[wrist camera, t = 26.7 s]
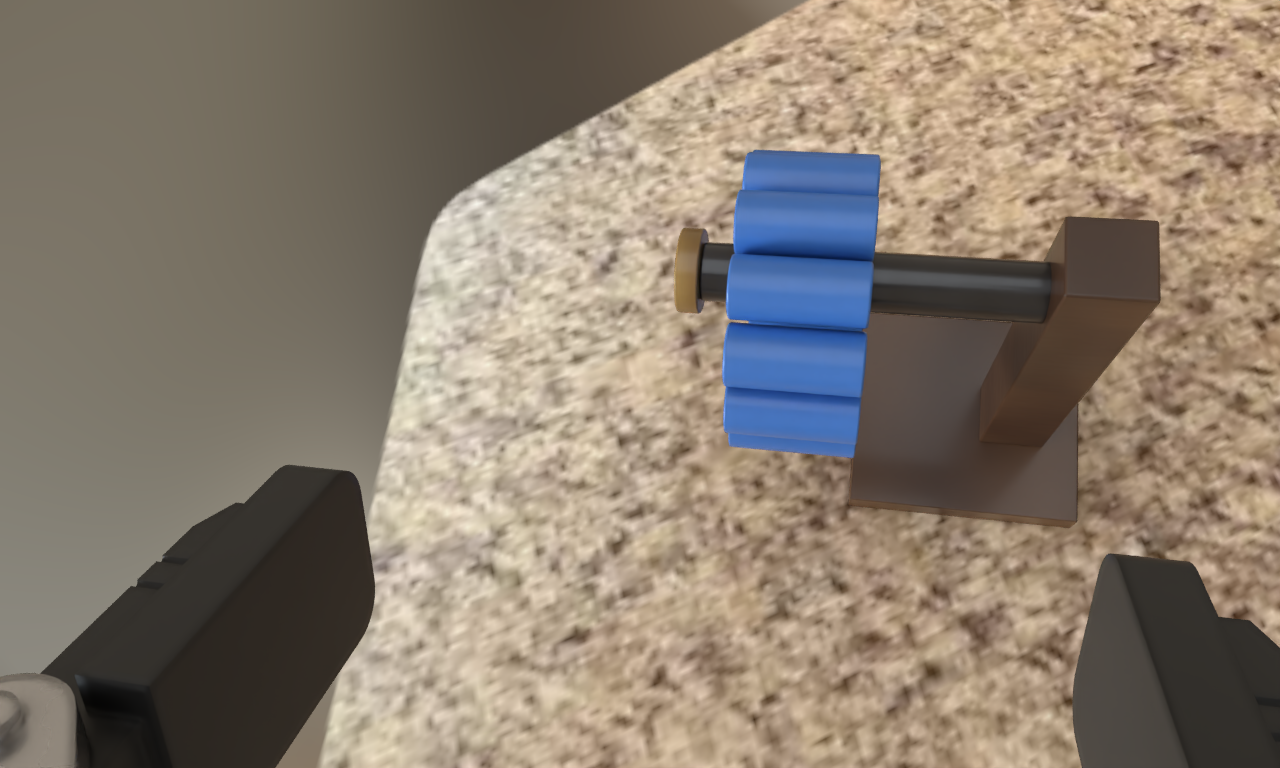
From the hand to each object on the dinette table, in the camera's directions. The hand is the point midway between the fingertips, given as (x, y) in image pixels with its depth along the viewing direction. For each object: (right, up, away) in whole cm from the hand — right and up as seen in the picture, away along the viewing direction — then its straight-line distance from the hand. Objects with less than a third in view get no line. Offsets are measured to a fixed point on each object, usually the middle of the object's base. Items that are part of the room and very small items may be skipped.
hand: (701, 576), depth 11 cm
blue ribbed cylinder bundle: (+5, +3, +27) cm, 27 cm away
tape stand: (+10, +1, +32) cm, 33 cm away
